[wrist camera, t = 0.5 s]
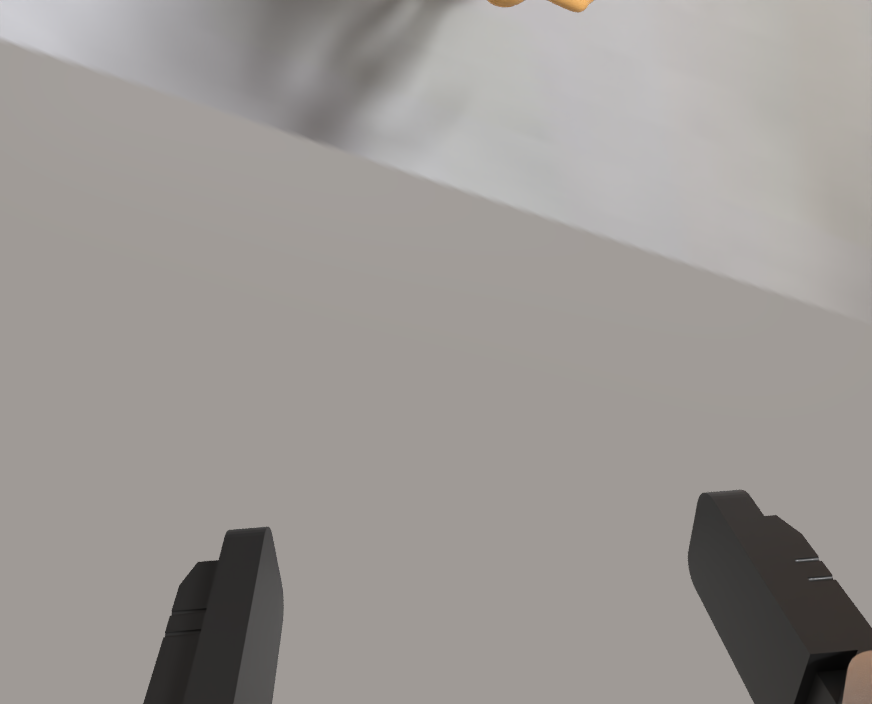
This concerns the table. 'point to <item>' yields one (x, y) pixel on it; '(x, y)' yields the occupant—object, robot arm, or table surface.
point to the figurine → (576, 3)
